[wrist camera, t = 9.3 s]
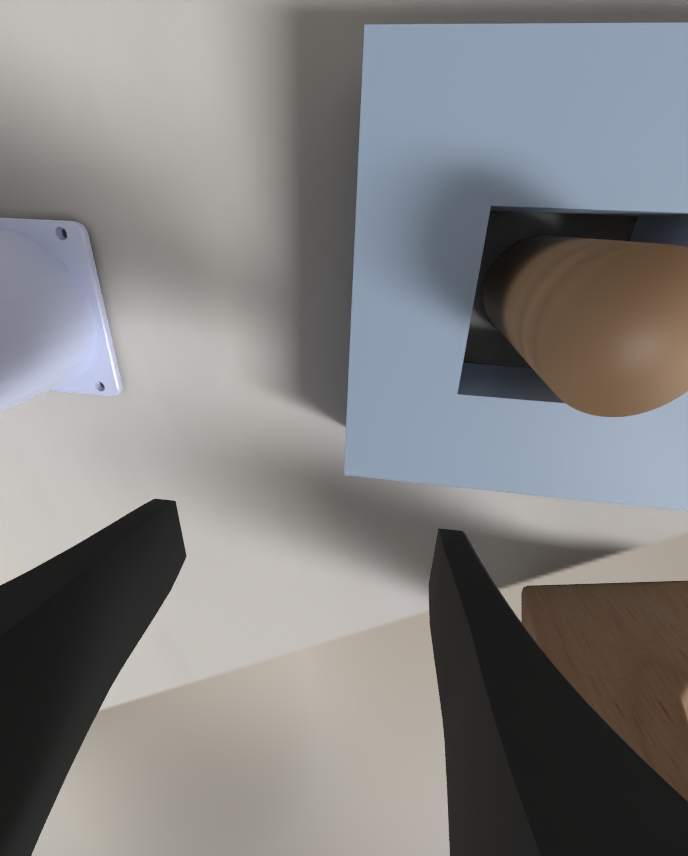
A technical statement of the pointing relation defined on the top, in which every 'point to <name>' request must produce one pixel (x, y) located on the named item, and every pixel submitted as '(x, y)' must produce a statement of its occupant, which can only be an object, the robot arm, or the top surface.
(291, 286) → the top surface
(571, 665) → the wooden block
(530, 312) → the peg
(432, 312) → the socket
